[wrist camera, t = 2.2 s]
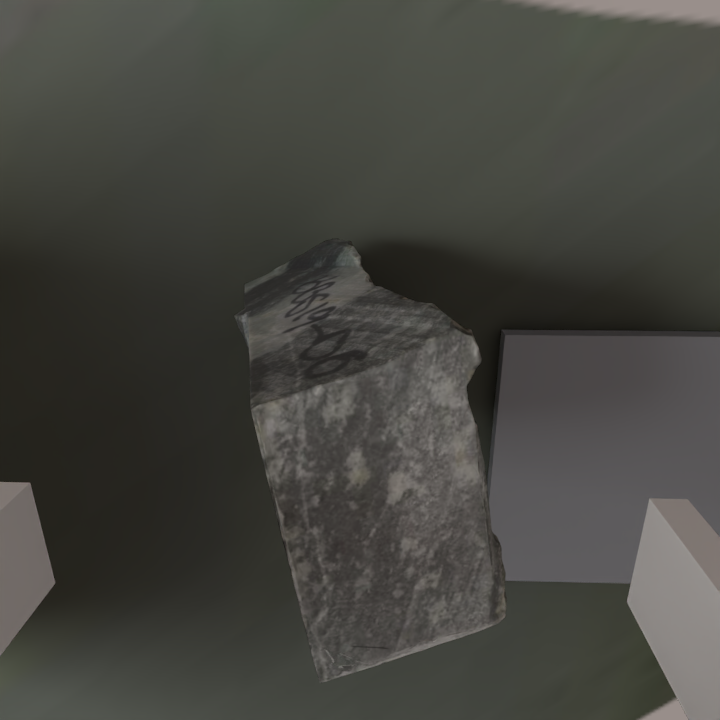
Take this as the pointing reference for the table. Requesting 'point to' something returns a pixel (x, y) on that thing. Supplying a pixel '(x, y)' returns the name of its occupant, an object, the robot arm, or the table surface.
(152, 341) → the table surface
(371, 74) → the table surface
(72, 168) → the table surface
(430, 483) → the stone block
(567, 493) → the slate pad
